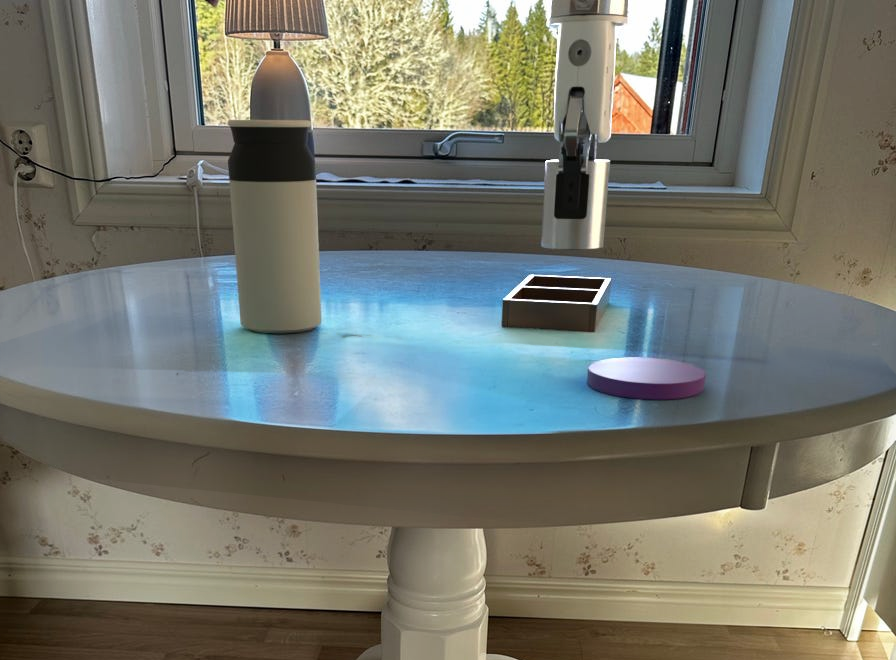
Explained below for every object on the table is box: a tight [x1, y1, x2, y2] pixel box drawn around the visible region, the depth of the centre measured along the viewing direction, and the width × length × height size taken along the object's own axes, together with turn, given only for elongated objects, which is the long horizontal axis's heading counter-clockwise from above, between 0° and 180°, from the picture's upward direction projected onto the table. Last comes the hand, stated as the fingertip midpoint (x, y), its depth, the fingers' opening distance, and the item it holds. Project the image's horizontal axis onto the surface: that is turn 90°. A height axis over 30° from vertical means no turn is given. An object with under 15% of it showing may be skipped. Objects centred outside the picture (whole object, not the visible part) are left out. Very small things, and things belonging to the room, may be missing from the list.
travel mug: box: [227, 119, 323, 334], centre depth 90 cm, size 8×8×18 cm
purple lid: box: [586, 356, 707, 401], centre depth 75 cm, size 9×9×1 cm
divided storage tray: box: [501, 274, 612, 333], centre depth 99 cm, size 9×17×3 cm, turn 165°
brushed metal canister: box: [540, 159, 611, 251], centre depth 98 cm, size 6×6×8 cm
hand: (574, 214), depth 98 cm, fingers closed on brushed metal canister, 6 cm apart
